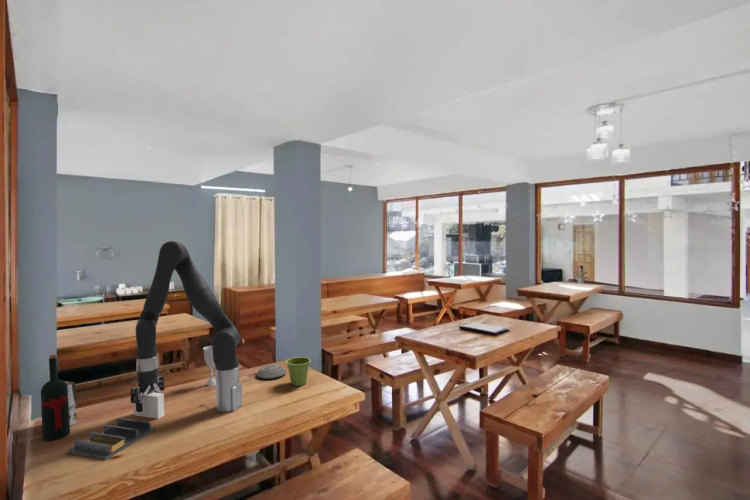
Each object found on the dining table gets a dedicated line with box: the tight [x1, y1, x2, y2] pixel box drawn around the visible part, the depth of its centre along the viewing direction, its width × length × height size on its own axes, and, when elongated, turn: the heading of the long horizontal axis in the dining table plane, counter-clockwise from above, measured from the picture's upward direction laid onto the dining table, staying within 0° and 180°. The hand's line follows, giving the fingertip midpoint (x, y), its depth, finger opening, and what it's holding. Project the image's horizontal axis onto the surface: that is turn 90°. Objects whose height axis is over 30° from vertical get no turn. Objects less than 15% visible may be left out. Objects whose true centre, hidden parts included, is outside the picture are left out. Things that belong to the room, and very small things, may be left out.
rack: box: [68, 417, 156, 461], centre depth 139 cm, size 16×20×4 cm
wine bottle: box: [40, 353, 71, 442], centre depth 141 cm, size 8×10×30 cm
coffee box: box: [41, 380, 78, 427], centre depth 150 cm, size 9×6×16 cm
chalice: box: [202, 345, 216, 387], centre depth 189 cm, size 7×7×18 cm
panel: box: [133, 391, 165, 420], centre depth 158 cm, size 12×3×9 cm, turn 74°
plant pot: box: [285, 356, 312, 387], centre depth 189 cm, size 12×12×11 cm
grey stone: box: [255, 364, 287, 380], centre depth 201 cm, size 15×15×6 cm
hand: (148, 407), depth 158 cm, fingers open, 8 cm apart
